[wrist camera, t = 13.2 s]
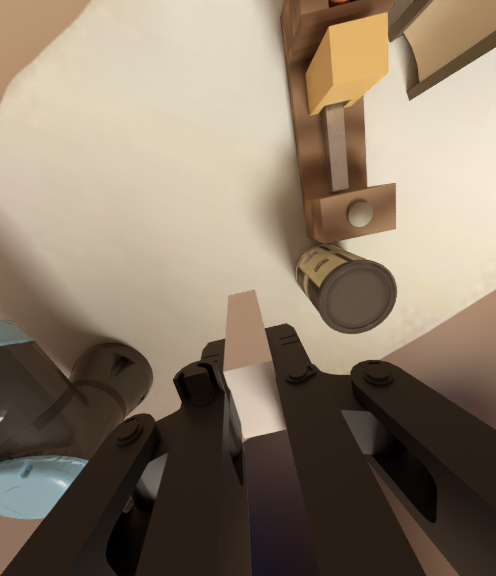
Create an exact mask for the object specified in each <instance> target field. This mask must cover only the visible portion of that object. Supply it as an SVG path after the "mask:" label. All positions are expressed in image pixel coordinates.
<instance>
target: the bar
mask: <svg viewBox="0 0 496 576" xmlns="http://www.w3.org/2000/svg"><path fill="white" fill-rule="evenodd" d="M321 115H322V126H323V137H324V148H325V159H326V170H327V181H328V192H333V191H338V190H342V189H347V188H349V186H348V170H347V155H346V140H345V124H344V109H343V102H338V103H334V104H330V105H326V106H324V107H323V108H322V110H321Z"/></svg>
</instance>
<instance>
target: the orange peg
mask: <svg viewBox="0 0 496 576" xmlns="http://www.w3.org/2000/svg"><path fill="white" fill-rule="evenodd" d="M350 1H351V0H328V5H329V8H331V7H335V6H339V5H343V4H347V3H350Z"/></svg>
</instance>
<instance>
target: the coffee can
mask: <svg viewBox="0 0 496 576" xmlns="http://www.w3.org/2000/svg"><path fill="white" fill-rule="evenodd" d="M296 281H297V284H298V286H299V287H300V289H301V290H302V291H303V292H304V293H305V295H306V296H307V297H308V298H309V300H310V301H311V302H312V304H313V305H314V306H315V308H316V309H317V311H318V312H319V313H320V315H321V317H322V319H323V320H324V322H325V323H326V324H327V325H328V326H329V327H330V328H332V329H334V330H336V331H338V332H341V333H346V334H358V333H363V332H366V331H369V330H371V329H373V328H375V327H376V326H378V325H379V324H380V323H382V322H383V321H384V320H385V319H386V318H387V317H388V315H389V314H390V312H391V311H392V309H393V307H394V304H395V302H396V297H397V286H396V282H395V279H394V277H393V275H392V274H391V272H390V271H389V270H388V269H387V268H386V267H384V266H383V265H381V264H379V263H377V262H374V261H370V260H366V259H364V258H362V257H359V256H357V255H354V254H352V253H350V252H347V251H345V250H343V249H340V248H339V247H337V246H334V245H329V244H322V245H317V246H315V247H312V248H311V249H309V250H308V251H306V252H305V253H304V254H303V255H302V257H301V258H300V260H299V262H298V264H297V267H296Z"/></svg>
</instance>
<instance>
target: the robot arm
mask: <svg viewBox="0 0 496 576" xmlns="http://www.w3.org/2000/svg"><path fill="white" fill-rule="evenodd" d="M350 373H351V375H334V374H328V373H324V372H322V371H320V370H319V369H318V368H317V367H316V366H315V365H314V364H312V363H311V361H310V359H309V357H308V355H307V353H306V351H305V349H304V347H303V345H302V343H301V341H300V339H299V337H298V336H297V333H296V331H295V329H294V328H293V327H292V326H290V325H288V324H287V323H286V324H282V325H278V326H273V327H269V328H264V324H263V320H262V316H261V312H260V308H259V304H258V300H257V296H256V292H255V290H251V291H246V292H242V293H238V294H234V295H230V296H229V297H228V311H227V325H226V338H225V339H222V340H217V341H213V342H209V343H208V344H207V345H206V347H205V348H204V349H203V351H202V356H201V360H200V361H197V362H194V363H191V364H189V365H187V366H185V367H184V368H182V369H181V370H180V371H179V372H178V373H177V374H176V375H175V377H174V379H173V382H174V384H175V387H176V389H177V392H178V394H179V396H180V399H181V401H182V403H181V407H180V409H179V410H178V411H176V412H174V413H172V414H171V415H168V416H166V417H164V418H162V419H160V420H158V421H156V422H155V420H154V418H153V417H152V416H151V415H150V414H145V413H142V414H137V415H134V416H132V417H130V418H128V419H126V420H124V419H125V417H126V416H127V415H128V414H129V413H131V412H132V411H133V410H134V409H135V408H136V407H137V406H138V405H139V404H140V403H141V402H142V401H143V400H144V399H145V398H146V396H147V394H148V392H149V390H150V388H151V386H152V383H153V373H152V369H151V367H150V365H149V363H148V362H147V360H146V359H145V358H144V357H143V356H142V355H141V354H140V353H138V352H137V351H135V350H134V349H132V348H130V347H127V346H124V345H121V344H115V343H106V344H100V345H97V346H94V347H92V348H90V349H89V350H87V351H86V352H85V353H84V354H83V355H82V356H81V357H80V358H79V359H78V360H77V362H76V363H75V365H74V367H73V369H72V373H71V375H70V377H69V379H68V378H67V377H66V376H65V375H64V374H63V373H62V372H61V370H60V369H59V368H58V367H57V366H56V365H55V364H54V362H53V361H52V360H51V359H50V358H49V357H48V356H47V355H46V353H45V352H44V351H43V350H42V349H41V348H40V347H39V345H38V344H37V343H36V340H35V339H34V338H31V337H30V336H29V335H28V334H27V333H26V332H25V331H24V330H23V329H22V328H21V327H20V326H19V325H18V324H16V323H15V322H12V321H9V320H0V515H1V516H6V517H12V518H18V519H39V518H44V520H43V521H42V522H41V523H40V525H39V526H38V527H37V529H36V530H35V531H34V533H33V534H32V535H31V536H30V538H29V539H28V540H27V542H26V543H25V544H24V546H23V547H22V548H21V549H20V551H19V552H18V553H17V555H16V556H15V557H14V559H13V560H12V561H11V563H10V564H9V565H8V566H7V568H6V569H5V570H4V571H3V573H2V574H1V575H0V576H251V558H250V536H249V516H248V494H247V472H246V454H245V450H244V447H243V444H242V432H243V435H244V438H249V437H254V436H258V435H263V434H267V433H271V432H276V431H280V430H285V429H287V431H288V436H289V440H290V444H291V448H292V452H293V457H294V461H295V466H296V470H297V474H298V479H299V482H300V487H301V491H302V496H303V500H304V504H305V509H306V513H307V517H308V522H309V526H310V530H311V534H312V539H313V543H314V547H315V552H316V555H317V560H318V564H319V569H320V573H321V576H426V574H425V573H424V570H423V568H422V567H421V565H420V563H419V561H418V559H417V557H416V555H415V553H414V551H413V549H412V547H411V545H410V543H409V541H408V539H407V538H406V536H405V534H404V532H403V530H402V528H401V526H400V524H399V522H398V520H397V518H396V516H395V514H394V513H393V511H392V509H391V507H390V505H389V503H388V501H387V499H386V497H385V495H384V493H383V491H382V489H381V487H380V486H379V484H378V482H377V480H376V478H375V477H374V474H373V472H372V470H371V468H370V466H369V464H370V465H371V466H372V468H373V469H374V470H375V471H376V473H377V474H378V475H379V476H380V477H381V479H382V480H383V481H384V482H385V484H386V485H387V486H388V487H389V489H390V490H391V491H392V492H393V494H394V495H395V496H396V497H397V498H398V500H399V501H400V502H401V504H402V505H403V506H404V507H405V509H406V510H407V511H408V512H409V513H410V515H411V516H412V517H413V518H414V520H415V521H416V522H417V523H418V525H419V526H420V527H421V528H422V530H423V531H424V532H425V533H426V534H427V536H428V537H429V538H430V539H431V541H432V542H433V543H434V544H435V546H436V547H437V548H438V549H439V551H440V552H441V553H442V554H443V556H444V557H445V558H446V559H447V561H448V562H449V563H450V564H451V566H452V567H453V568H454V569H455V570H456V572H457V573H458V574H459V575H460V576H496V430H495V429H494V428H492V427H490V426H489V425H487V424H486V423H484V422H483V421H481V420H479V419H478V418H477V417H475V416H473V415H472V414H470V413H469V412H467V411H466V410H464V409H463V408H461V407H459V406H458V405H456V404H455V403H453V402H451V401H450V400H448V399H447V398H446V397H444V396H442V395H441V394H439V393H438V392H436V391H435V390H433V389H432V388H430V387H428V386H427V385H425V384H424V383H422V382H421V381H419V380H418V379H416V378H414V377H413V376H411V375H410V374H408V373H407V372H405V371H404V370H402V369H401V368H399V367H397V366H395V365H393V364H391V363H389V362H385V361H380V360H367V361H363V362H359V363H358V364H356V365H355V366H353V368H352V370H351V372H350ZM123 420H124V421H123ZM241 429H242V431H241ZM367 461H368V462H367ZM368 463H369V464H368ZM129 498H131V500H130V502H129V504H128V505H127V506H126V508H125V509H124V507H125V505H126V503H127V501H128V500H129ZM123 509H124V510H123Z"/></svg>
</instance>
